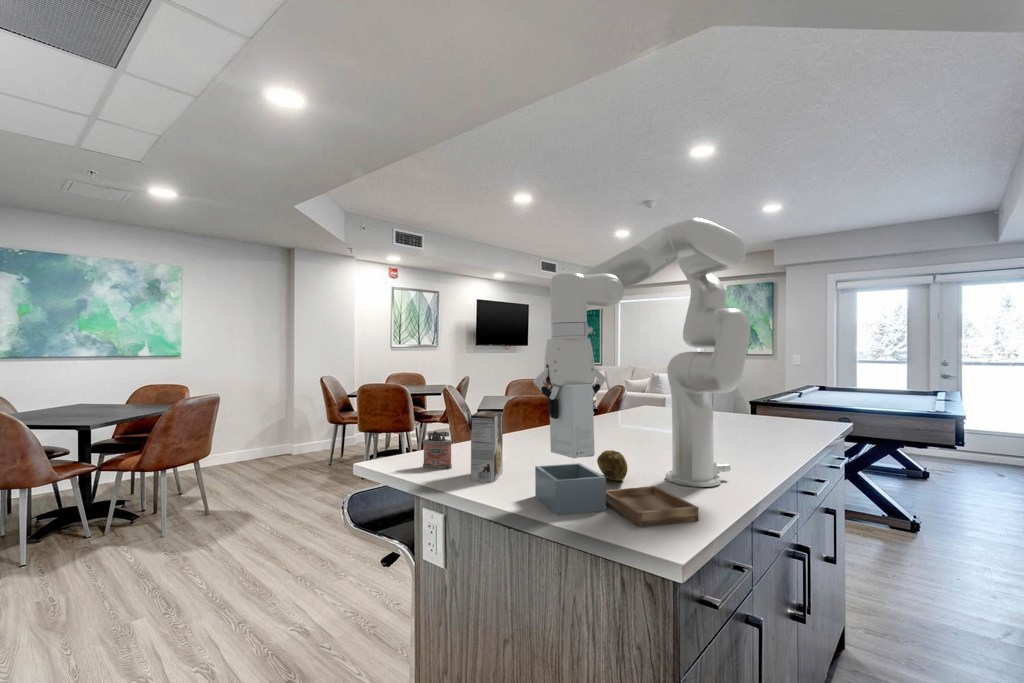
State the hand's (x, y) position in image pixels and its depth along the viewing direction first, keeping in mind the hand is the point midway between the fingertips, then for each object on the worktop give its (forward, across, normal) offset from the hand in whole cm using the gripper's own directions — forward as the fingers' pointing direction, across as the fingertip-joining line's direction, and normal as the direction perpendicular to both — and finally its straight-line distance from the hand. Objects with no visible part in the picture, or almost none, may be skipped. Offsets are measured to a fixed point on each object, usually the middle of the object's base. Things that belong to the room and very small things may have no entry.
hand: (570, 416), depth 100 cm
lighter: (+18, +24, -38) cm, 48 cm away
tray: (+18, -12, +9) cm, 24 cm away
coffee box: (+18, +13, -25) cm, 33 cm away
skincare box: (+8, 0, 0) cm, 8 cm away
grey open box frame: (+18, +1, 0) cm, 18 cm away
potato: (+19, -16, -13) cm, 28 cm away
